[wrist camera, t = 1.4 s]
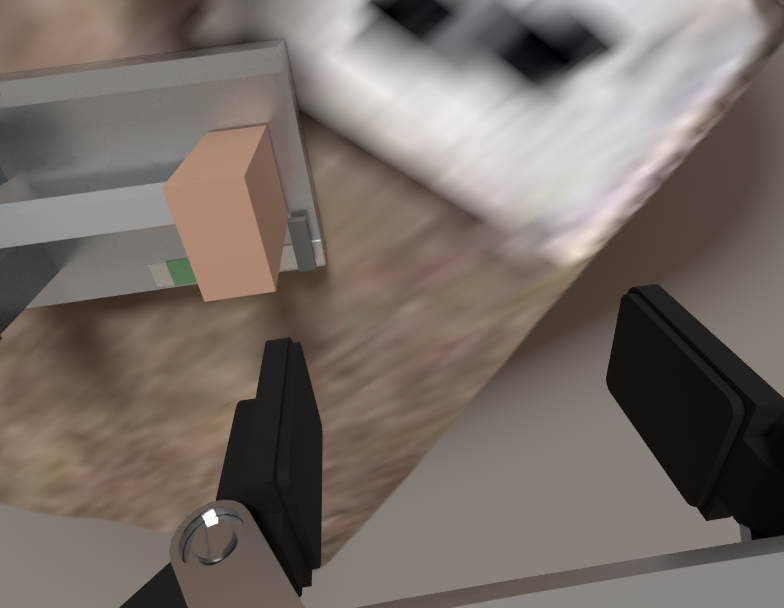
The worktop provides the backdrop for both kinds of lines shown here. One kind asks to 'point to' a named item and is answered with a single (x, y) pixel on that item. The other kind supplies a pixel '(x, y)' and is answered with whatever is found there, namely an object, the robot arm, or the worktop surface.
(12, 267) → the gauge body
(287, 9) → the worktop surface
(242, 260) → the plunger
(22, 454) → the worktop surface
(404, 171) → the worktop surface
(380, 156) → the worktop surface
